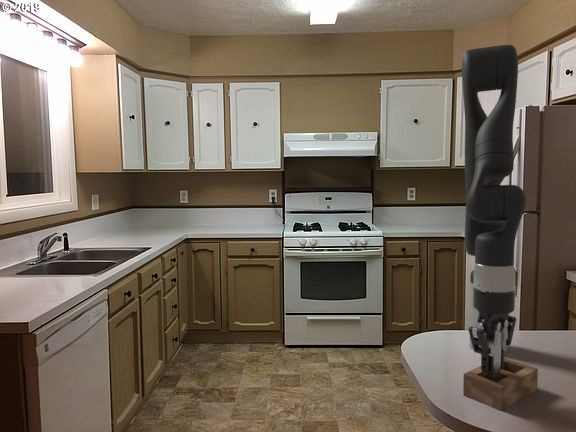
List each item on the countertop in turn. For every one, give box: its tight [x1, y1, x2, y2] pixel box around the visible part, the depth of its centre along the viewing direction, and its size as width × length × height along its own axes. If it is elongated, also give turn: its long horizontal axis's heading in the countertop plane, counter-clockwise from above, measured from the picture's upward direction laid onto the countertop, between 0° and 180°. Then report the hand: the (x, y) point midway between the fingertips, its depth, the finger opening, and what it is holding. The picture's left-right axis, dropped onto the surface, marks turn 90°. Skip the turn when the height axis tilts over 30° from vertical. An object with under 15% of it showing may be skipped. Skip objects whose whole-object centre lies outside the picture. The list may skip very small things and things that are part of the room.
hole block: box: [462, 357, 539, 411], centre depth 94 cm, size 14×8×4 cm, turn 126°
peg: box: [484, 331, 501, 382], centre depth 91 cm, size 3×3×12 cm
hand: (492, 369), depth 92 cm, fingers open, 3 cm apart
